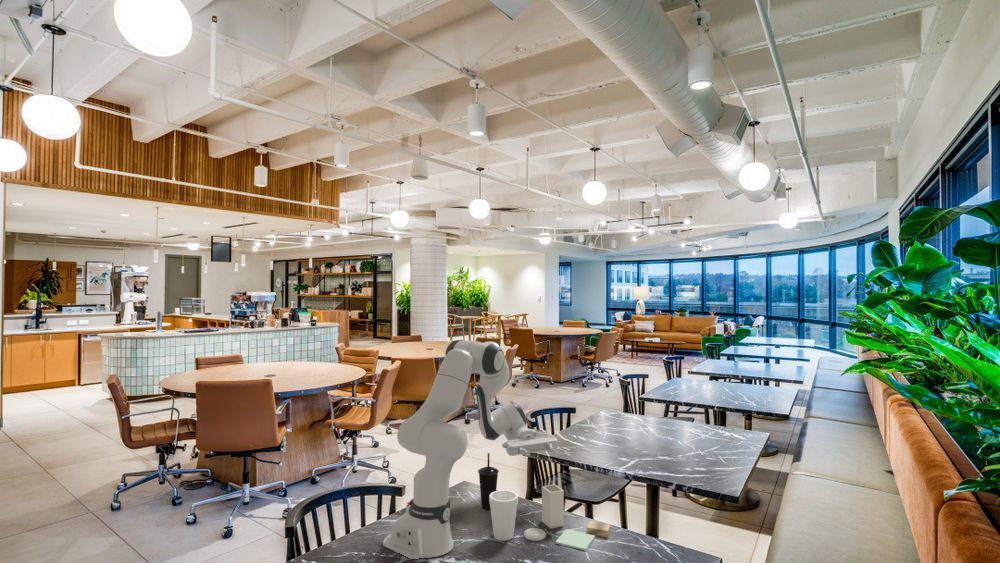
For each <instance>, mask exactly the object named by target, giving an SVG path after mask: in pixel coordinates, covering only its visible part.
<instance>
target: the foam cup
mask: <svg viewBox="0 0 1000 563" xmlns="http://www.w3.org/2000/svg"><path fill="white" fill-rule="evenodd" d="M489 503H490V508H491V510H490V515H491V517H490V518H491V523H492V531H493V532H492V533H493V537H494V539H496V540H498V541H509V540H512V539H513V538H514V533H515V525H516V518H517V509H518V504H519V495H518V493H516V492H514V491H512V490H506V489H504V490H503V489H501V490H496V491H494V492H492V493H491V494H490V495H489Z"/></svg>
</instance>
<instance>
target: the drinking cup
mask: <svg viewBox="0 0 1000 563" xmlns="http://www.w3.org/2000/svg"><path fill="white" fill-rule="evenodd" d="M477 472H478V478H479V479H478V480H479V488H480V502H481V509H482V510H483V509H484V510H483V511H491V508H490V503H489V495H490V494H491V493H492V492H494V491H497V486H498V477H499V476H498V475H499V472H500V471H499V469H498V468H496V467H493V466H490V452H488V453H487V466H484V467H480V468H479V469H478V470H477Z"/></svg>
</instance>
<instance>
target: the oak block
mask: <svg viewBox="0 0 1000 563" xmlns="http://www.w3.org/2000/svg"><path fill="white" fill-rule="evenodd" d="M611 527H612V526H611V524H608V523H604V522H597V521H591V520H589V522H588V524H587V526H586V534H591V535H595V537H597V536H598V537H603V538H608V539H609V536H610V534H611V530H612V529H611Z"/></svg>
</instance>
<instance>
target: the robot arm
mask: <svg viewBox="0 0 1000 563" xmlns="http://www.w3.org/2000/svg"><path fill="white" fill-rule="evenodd" d="M504 353H505V352H504V351H503V349H502V348H501V347H500V345H499V344H498V343H497V342H494V341H491V340H490V341H489V340H488V341H485V342H481V341H478V340H464V339H456V340H453V341H450V343H449V344H448V345H447V348H446V350H445V354H444V356H445V357H444V358H443V361H442V362H441V364H440V367H439V369H438V371H437V373H436V376H435V379H434V381H433V383H432V385H431V386H432V387H431V389H430V391H429V393H428V396H427V397H426V399H425V400H424V402H423V404H422V405H421V406H420V408H419V409H418V410H417V411H415V413H414V414H412V415H411V416H410V417H408V418H406V419H405V420H403V421H402V422H401V424H400V425H399V427H398V430H397V436H396V437H397V438H396V439H397V442H398V444H399V445H400V447H402V448H404V449H405V450H407V451H408V452H410V453H412V454H417V455H420V456H424V457H425V464H424V467H423V468H421V469H419V470H418V471H417V472H416V473H415V475H414V477H413V494H412V495H413V497H412V499H410V501H408V502H407V503H406V506H405V507H406V508H408V507H409V510H407V511H406V512H405V513H403V514H402V515H401V516H399V517H398V518H397V519H395V521H393V523H392V526H391V530H390V533H389V534H388V535H387V536H385V538H384V539H383V541H382V546H383V547H385V548H387V549H389V550H390V551H392V552H395V553H397V554H399V553H400V554H399V555H401V554H402V555H401V556H403V555H404V556H403V557H405V556H406V558H407V557H408V558H407V559H409V558H411V559H418V560H420V559H419V558H422V559H427V558H436V557H437V558H438V557H440V556H443V555H446V554H447V553H449V552H451V551H452V549H453V548H454V543H455V542H454V541H453V536H452V531H451V524H450V516H451V499H450V497H449V494H450V477H451V472H452V469H453V467H454V465H455V463H456V462H457V461H458V460H460V459H461V458H462V457H463V456H464V455H465V453H466V451H467V449H468V443H469V442H468V436H467V432H466V431H465V430H464V429H462V428H460V427H458V426H457V425H454V424H453V423H448V422H445V420H446V419H447V418H448V417H449V416H451V415H452V414H454V413H456V412H457V411H459V410H460V409H461V407H462V404H463V401H464V398H465V395H466V392H467V390H468V386H469V383H470V380H471V376H472V373H473V374H479V380H478V385H477V386H476V388H475V390H476V391H475V396H476V406H477V411H478V412H477V413H478V427H479V432H480V433H481V435H482V436H483V438H484V439H485V440H489V441H495V440H496V439H497V440H498V438H499V437H501V436H502V435H504V437H505V438H506V441H505V442H504V443H502V444H501V446H502V448H503V449H505V451H506V453H507V454H508V456H511V457H513V456H520V455H522V456H525V457H530V456H531V454H533V453H534V454H535V453H539V452H545V451H547V452H548V453H554V450H557V449H558V447H559V443H558V442H559V440H558V439H557V437H556V436H553V434H550V433H548V432H547V431H546V430H545V429H534V428H533V429H532V428H528V427H526V425H527V416H526V413H525V412H524V410H523V408H522V407H521V406H520V405H519V404H518V403H516V402H513V401H508V402H506V403H504V404H503V405H501V406H500V407H498V408H496V409H495V410H493V411H492V412H491V402H492V400H493V399H494V398H495V396H497V394H499V392H500V391H502V390H503V389H504V388H505V387H506V385H507V384H508V382H509V380H510V368H509V365H508V361H507V358H506V356H505V354H504ZM411 559H410V560H411Z"/></svg>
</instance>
